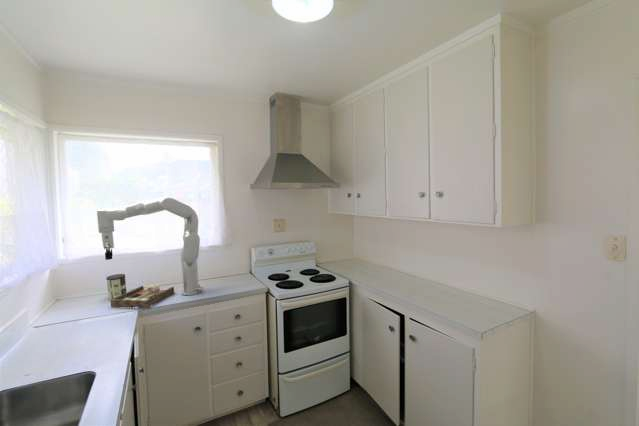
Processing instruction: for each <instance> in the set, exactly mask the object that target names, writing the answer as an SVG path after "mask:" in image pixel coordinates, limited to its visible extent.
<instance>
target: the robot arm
mask: <svg viewBox="0 0 639 426" xmlns="http://www.w3.org/2000/svg"><path fill="white" fill-rule="evenodd" d="M163 211H167V212H169V213H171V214H174V215H175V216H178V217H179V218H182V219H183V220H184V226H183V227H184V228H183V235H182V241H183V248H182V249H181V251H180V262H181V268H182V269H181V272H182V285H183V287H182V288H183V289H182V290H181V292H180V293H181V295H182V296H192V295H196V294H199V293H200V292H202V291H203V290H204V286H201V284H199V272H198V259H199V253H200V243H201V242H200V241H201V238H200V235H199V217H198V215H197V212H196V210H194V209H193V208H192V207H191V206H190V205H189V204H188V205H187V204H185V203H183V202H181V201H179V200H177V199H176V198H173V197H171V196H170V195H169V196H168V195H167V196H162V197H161V196H160V197H156V198H152V199H148V200H144V201H140V202H138V203H135V204H134V203H133V204H130V205H129V204H128V205H125V206H121V207H117V208H100V209H99V208H98V209H97V210H96V215H97V218H96V219H97V227H98V233H99V234H101V240H102V247H103V249H104V252H105V253H104V257H105V261H107V260H112V259H113V249H114V248H115V242H114V232H115V226H114V225H115V223H114V221H124V220H126V219H129V218H132V217H137V216H143V215H151V214H156V213H159V212H163Z"/></svg>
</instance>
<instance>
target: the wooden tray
mask: <svg viewBox="0 0 639 426" xmlns="http://www.w3.org/2000/svg"><path fill="white" fill-rule="evenodd" d="M126 292H127V293H125V294H123V295H120V296H118V297H116V298H114V299H112V300H111V299H109V300H110V301H109V303H110V307H111V308H118V307H126V308H127V307H129V308H127V309H134V308H133V307H138V308H137V309H143V308H147V307H149V306H151V305H153V304H154V305H156V304H158V303H159V301H160V302H161V301H163V300H165V299H167V298H168V297H170V296H172V295H174V294H175V287H174V286H171V287H169V288H168V289H160V291H158V292H156V293H148V291H147V289H145V288H144V285H141V286H138V287H137V288H134V289H131V290H129V291H126ZM157 302H158V303H157ZM155 303H156V304H155ZM154 305H153V306H154ZM130 307H131V308H130ZM151 307H152V306H151ZM126 308H125V309H126ZM149 308H150V307H149ZM147 309H148V308H147Z"/></svg>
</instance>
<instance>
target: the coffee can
mask: <svg viewBox="0 0 639 426" xmlns="http://www.w3.org/2000/svg"><path fill="white" fill-rule="evenodd" d="M105 280H106V285H107V286H106V287H107V295H108V298H107V299H108V300H112V299H114V298H116V297H118V296H120V295H123V294H125V293H127V292H128V291H127V283H126V274H124V273H117V274H111V275H109V276H106V278H105Z"/></svg>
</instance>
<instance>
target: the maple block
mask: <svg viewBox="0 0 639 426" xmlns="http://www.w3.org/2000/svg"><path fill="white" fill-rule="evenodd" d="M146 290H147V291H148V293H156V292H158V291H160V290H161V289H160V284H151V285H150V286H147V289H146Z"/></svg>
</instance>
